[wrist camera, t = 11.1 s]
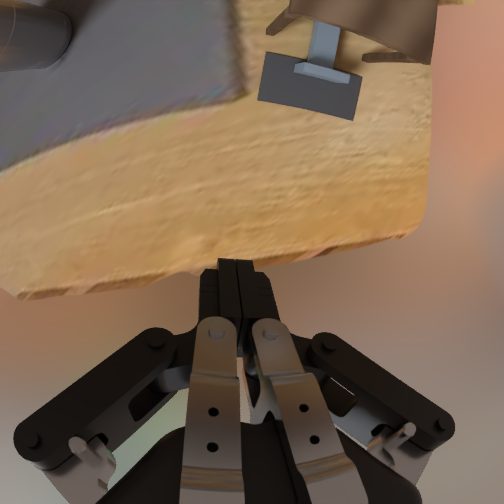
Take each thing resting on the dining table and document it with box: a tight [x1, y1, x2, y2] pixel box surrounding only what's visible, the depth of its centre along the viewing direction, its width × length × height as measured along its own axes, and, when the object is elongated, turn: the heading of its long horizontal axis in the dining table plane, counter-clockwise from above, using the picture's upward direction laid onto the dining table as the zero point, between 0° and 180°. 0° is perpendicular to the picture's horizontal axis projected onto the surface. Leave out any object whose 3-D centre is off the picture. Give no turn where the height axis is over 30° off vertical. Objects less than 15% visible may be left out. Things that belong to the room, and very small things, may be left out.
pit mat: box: [258, 52, 362, 121], centre depth 34 cm, size 14×7×1 cm, turn 81°
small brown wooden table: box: [266, 0, 438, 65], centre depth 22 cm, size 15×10×14 cm, turn 81°
